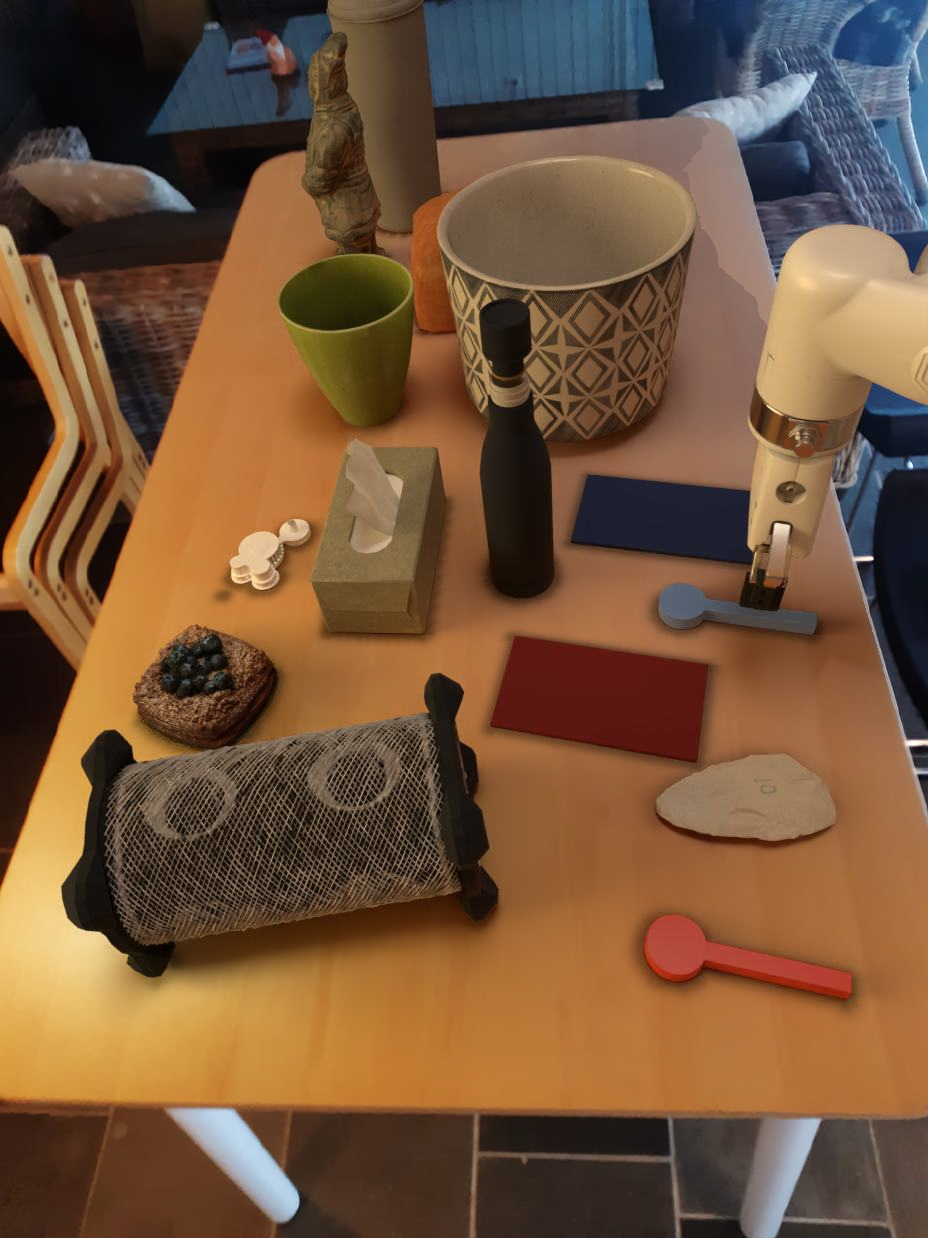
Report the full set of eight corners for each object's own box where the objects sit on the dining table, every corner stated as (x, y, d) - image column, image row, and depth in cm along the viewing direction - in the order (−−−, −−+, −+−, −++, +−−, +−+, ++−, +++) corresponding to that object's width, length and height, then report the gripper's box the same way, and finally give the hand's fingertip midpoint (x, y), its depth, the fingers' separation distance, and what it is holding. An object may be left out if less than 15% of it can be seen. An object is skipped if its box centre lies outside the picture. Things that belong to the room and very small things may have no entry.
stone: (842, 839, 69) (849, 828, 68) (666, 860, 70) (668, 849, 68) (810, 751, 74) (815, 739, 72) (646, 771, 74) (647, 759, 73)
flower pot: (455, 390, 108) (440, 271, 96) (384, 464, 101) (357, 345, 89) (360, 358, 114) (334, 241, 102) (287, 425, 107) (249, 309, 95)
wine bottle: (485, 594, 88) (452, 335, 64) (498, 547, 92) (471, 286, 68) (548, 601, 87) (539, 339, 63) (559, 553, 90) (553, 289, 67)
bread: (667, 308, 114) (678, 189, 102) (417, 339, 116) (398, 225, 103) (646, 252, 123) (654, 136, 111) (414, 282, 124) (396, 170, 112)
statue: (332, 252, 131) (279, 23, 108) (394, 250, 130) (354, 17, 106) (317, 295, 125) (258, 60, 101) (382, 293, 123) (337, 54, 100)
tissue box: (360, 499, 98) (329, 383, 86) (447, 499, 97) (428, 381, 84) (327, 635, 87) (286, 523, 74) (424, 637, 85) (399, 524, 73)
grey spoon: (814, 611, 83) (817, 600, 82) (812, 648, 80) (816, 637, 79) (661, 590, 86) (662, 580, 85) (655, 626, 84) (656, 615, 82)
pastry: (226, 765, 79) (205, 732, 74) (126, 720, 83) (99, 685, 78) (294, 672, 84) (277, 635, 80) (196, 633, 89) (175, 597, 84)
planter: (630, 491, 95) (642, 310, 78) (420, 434, 104) (390, 261, 87) (706, 351, 108) (731, 171, 91) (514, 312, 117) (504, 141, 100)
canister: (445, 235, 131) (410, -48, 104) (362, 240, 133) (306, -38, 105) (452, 192, 139) (421, -82, 111) (373, 197, 140) (324, -71, 113)
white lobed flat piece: (303, 588, 91) (298, 575, 89) (222, 594, 92) (216, 581, 90) (312, 523, 97) (307, 509, 95) (236, 529, 97) (230, 515, 96)
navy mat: (757, 494, 93) (758, 491, 92) (751, 564, 87) (751, 562, 87) (587, 476, 97) (587, 473, 97) (570, 542, 91) (570, 540, 91)
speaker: (154, 811, 77) (77, 722, 65) (476, 755, 77) (458, 656, 65) (138, 989, 67) (45, 923, 56) (505, 925, 68) (489, 845, 56)
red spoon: (846, 958, 64) (852, 951, 62) (846, 1021, 61) (852, 1016, 60) (648, 915, 67) (650, 908, 66) (640, 973, 64) (642, 967, 63)
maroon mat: (707, 666, 80) (708, 664, 80) (696, 762, 74) (697, 760, 74) (515, 637, 84) (514, 635, 84) (490, 726, 79) (490, 724, 78)
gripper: (861, 498, 57) (803, 650, 71) (860, 339, 67) (809, 499, 81) (742, 484, 59) (708, 635, 73) (758, 331, 69) (725, 489, 82)
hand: (761, 563), depth 77 cm, fingers open, 9 cm apart
